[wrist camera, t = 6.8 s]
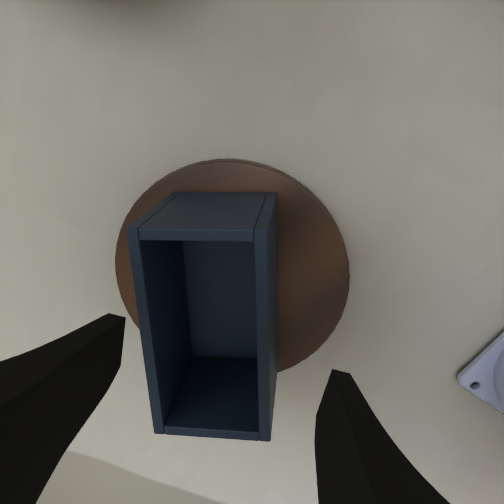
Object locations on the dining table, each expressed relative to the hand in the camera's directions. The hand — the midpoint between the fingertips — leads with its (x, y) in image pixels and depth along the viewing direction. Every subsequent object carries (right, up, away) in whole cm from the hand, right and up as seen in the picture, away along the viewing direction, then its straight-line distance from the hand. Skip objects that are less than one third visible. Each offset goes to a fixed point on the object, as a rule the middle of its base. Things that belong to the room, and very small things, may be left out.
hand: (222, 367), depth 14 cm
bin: (0, +2, +9) cm, 9 cm away
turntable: (0, +3, +10) cm, 10 cm away
